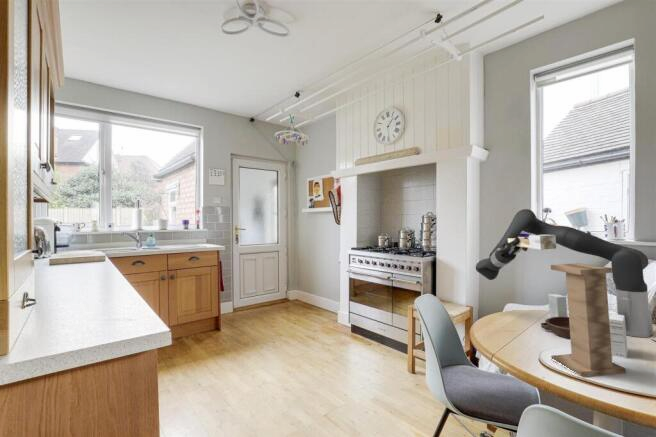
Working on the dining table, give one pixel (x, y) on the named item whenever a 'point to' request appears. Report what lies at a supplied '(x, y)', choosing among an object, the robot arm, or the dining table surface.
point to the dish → (558, 326)
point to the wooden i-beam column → (588, 321)
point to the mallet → (537, 242)
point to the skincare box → (557, 305)
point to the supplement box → (618, 335)
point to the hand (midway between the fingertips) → (523, 239)
